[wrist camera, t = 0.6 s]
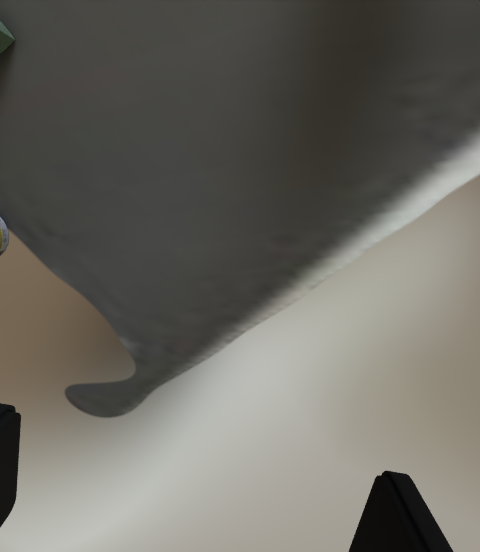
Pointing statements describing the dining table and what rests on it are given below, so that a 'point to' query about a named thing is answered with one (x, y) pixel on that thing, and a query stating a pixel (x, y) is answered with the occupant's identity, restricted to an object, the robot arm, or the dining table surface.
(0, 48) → the button block
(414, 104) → the dining table surface
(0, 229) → the supplement bottle
